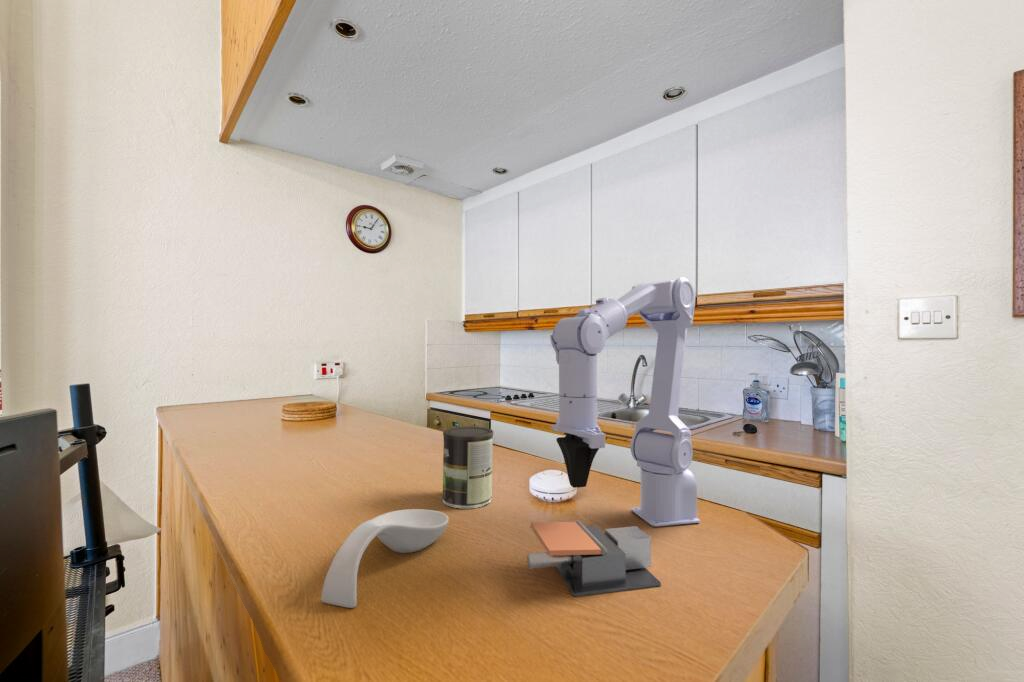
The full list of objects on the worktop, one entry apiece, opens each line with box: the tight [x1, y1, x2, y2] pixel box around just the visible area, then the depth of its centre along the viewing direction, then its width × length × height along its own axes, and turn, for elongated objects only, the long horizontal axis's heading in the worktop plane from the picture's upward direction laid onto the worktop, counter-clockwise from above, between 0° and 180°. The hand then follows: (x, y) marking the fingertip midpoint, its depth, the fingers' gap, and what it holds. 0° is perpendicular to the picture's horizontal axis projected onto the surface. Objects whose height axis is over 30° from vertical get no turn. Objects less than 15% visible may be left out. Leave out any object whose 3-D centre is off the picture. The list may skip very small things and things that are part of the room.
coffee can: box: [441, 426, 494, 510], centre depth 86 cm, size 10×10×14 cm
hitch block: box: [554, 525, 662, 598], centre depth 58 cm, size 12×11×4 cm
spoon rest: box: [320, 508, 450, 609], centre depth 61 cm, size 24×12×7 cm, turn 166°
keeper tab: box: [529, 520, 608, 556], centre depth 57 cm, size 8×9×1 cm
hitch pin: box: [526, 525, 652, 570], centre depth 58 cm, size 17×4×4 cm, turn 103°
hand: (578, 485), depth 63 cm, fingers closed
